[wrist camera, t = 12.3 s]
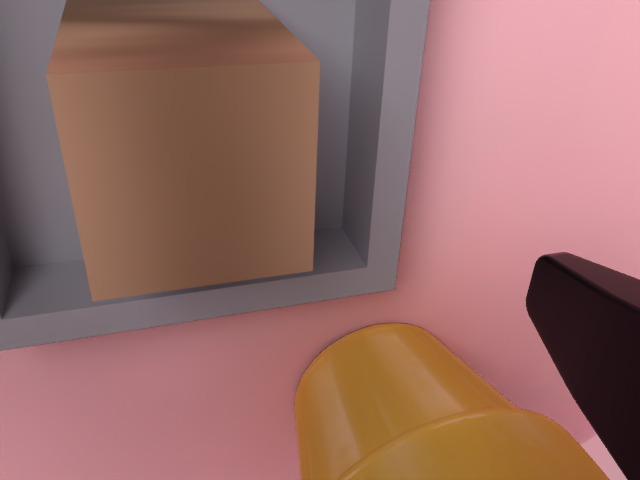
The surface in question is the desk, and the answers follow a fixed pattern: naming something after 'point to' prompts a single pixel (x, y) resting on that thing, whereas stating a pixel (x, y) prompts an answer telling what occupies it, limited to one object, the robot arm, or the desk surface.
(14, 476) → the desk surface
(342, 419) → the plant pot
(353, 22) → the tray
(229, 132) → the walnut block
